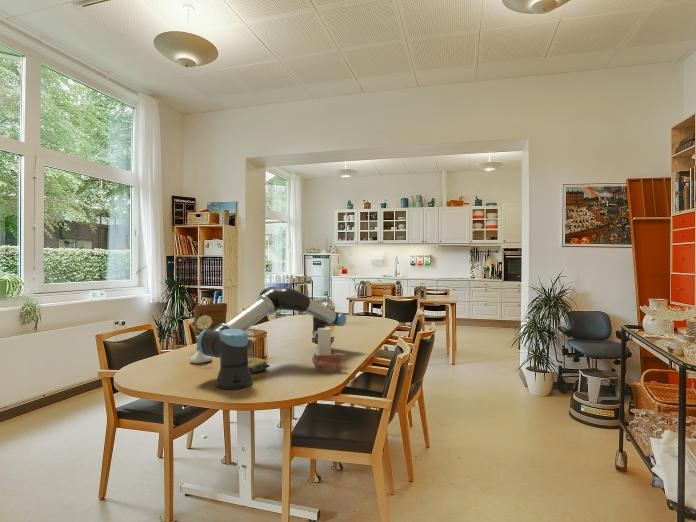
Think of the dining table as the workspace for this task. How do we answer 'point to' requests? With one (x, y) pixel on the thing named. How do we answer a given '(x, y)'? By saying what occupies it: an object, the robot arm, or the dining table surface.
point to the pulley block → (256, 364)
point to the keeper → (324, 341)
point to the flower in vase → (202, 324)
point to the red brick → (327, 362)
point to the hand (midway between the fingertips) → (326, 345)
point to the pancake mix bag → (210, 315)
